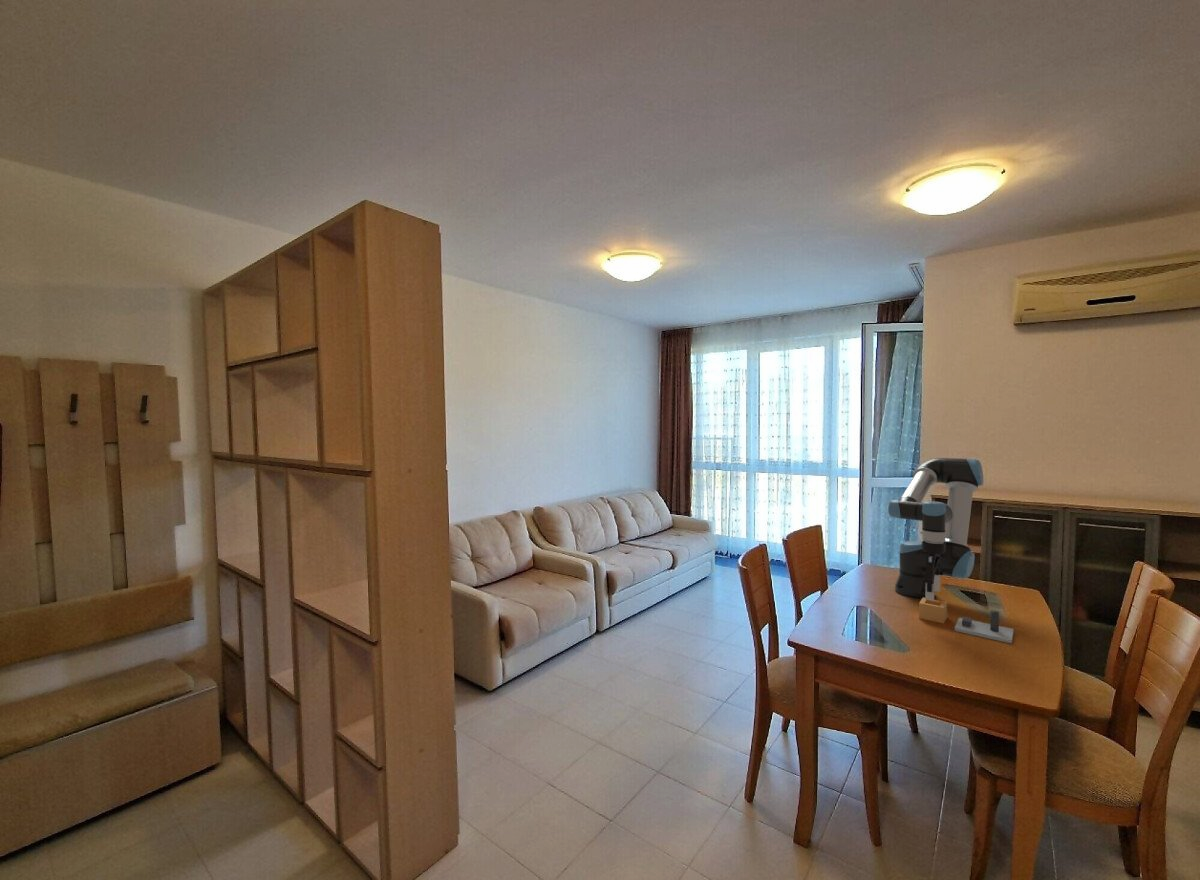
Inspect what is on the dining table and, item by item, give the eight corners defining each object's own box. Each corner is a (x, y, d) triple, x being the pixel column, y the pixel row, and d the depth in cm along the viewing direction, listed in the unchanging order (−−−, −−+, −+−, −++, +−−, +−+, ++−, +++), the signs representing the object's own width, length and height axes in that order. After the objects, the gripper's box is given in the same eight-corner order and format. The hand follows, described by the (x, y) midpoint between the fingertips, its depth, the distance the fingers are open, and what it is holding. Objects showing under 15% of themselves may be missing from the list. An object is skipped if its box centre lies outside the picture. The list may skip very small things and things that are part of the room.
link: (922, 612, 197) (922, 597, 196) (946, 617, 191) (947, 602, 191) (918, 618, 191) (919, 603, 191) (943, 623, 185) (943, 608, 185)
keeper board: (959, 620, 188) (959, 599, 188) (1013, 632, 177) (1013, 609, 177) (954, 630, 179) (954, 608, 179) (1011, 643, 168) (1011, 620, 168)
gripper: (927, 534, 202) (927, 585, 202) (915, 545, 183) (915, 601, 184) (950, 537, 197) (949, 589, 197) (939, 548, 178) (939, 606, 179)
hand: (932, 595), depth 190 cm, fingers open, 13 cm apart
